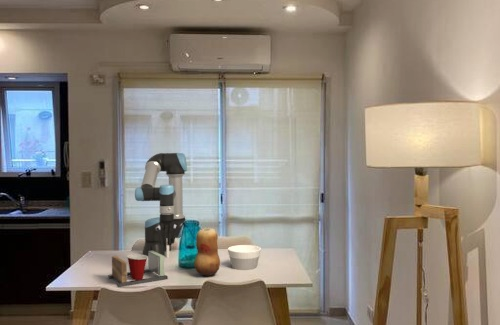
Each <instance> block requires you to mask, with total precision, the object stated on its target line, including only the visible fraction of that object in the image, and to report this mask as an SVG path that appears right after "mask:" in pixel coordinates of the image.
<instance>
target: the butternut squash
mask: <svg viewBox="0 0 500 325" xmlns="http://www.w3.org/2000/svg"><path fill="white" fill-rule="evenodd" d="M195 238H196V240H195V242H196V244H195V247H196V250H197V251H196V252H197V254H196V256H195V259H194V265H193V266H194V268H195V271H196V272H197V273H199V274H200V275H202V276H204V277H205V276H206V277H210V276H211V275H214V274H217V273H218V271H219V269H220V267H221V260H220V255H219V252H218V251H219V246H218V238H219V237H218V233H217V231H216V229H214V228H212V227H210V228H209V227H205V228H202V229H200V230H198V231H197V233H196V237H195Z"/></svg>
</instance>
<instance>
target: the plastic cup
mask: <svg viewBox="0 0 500 325" xmlns="http://www.w3.org/2000/svg"><path fill="white" fill-rule="evenodd" d="M126 258H127V261H128V262H127V263H128V268H129V272H130V273H131V276H130V277H131V280H132V281H133V280H139V279H144V275H145V274H144V270H145V269H146V263H147V261H148V256H146V255H142V254H136V253H134V254H133V253H132V254H127V255H126Z"/></svg>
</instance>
